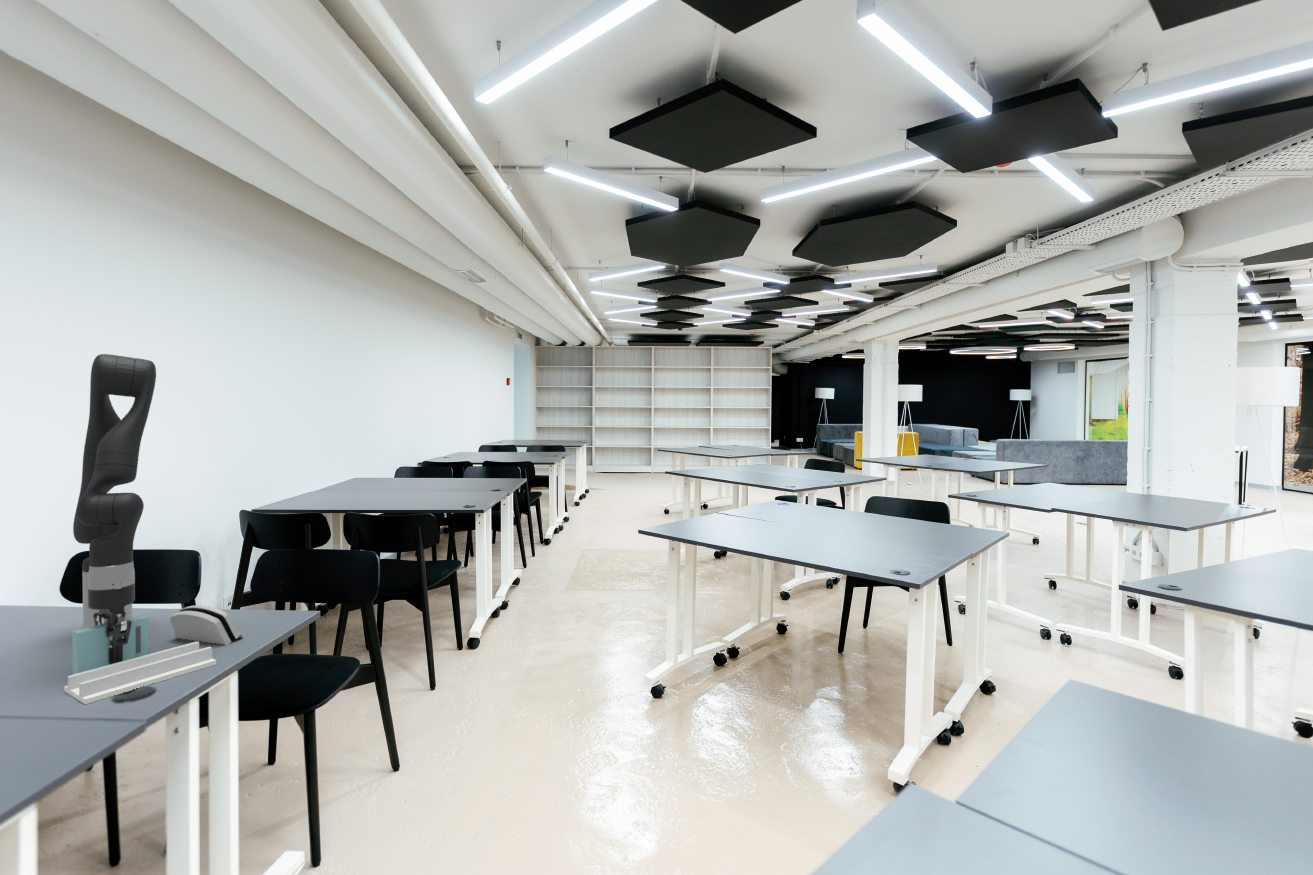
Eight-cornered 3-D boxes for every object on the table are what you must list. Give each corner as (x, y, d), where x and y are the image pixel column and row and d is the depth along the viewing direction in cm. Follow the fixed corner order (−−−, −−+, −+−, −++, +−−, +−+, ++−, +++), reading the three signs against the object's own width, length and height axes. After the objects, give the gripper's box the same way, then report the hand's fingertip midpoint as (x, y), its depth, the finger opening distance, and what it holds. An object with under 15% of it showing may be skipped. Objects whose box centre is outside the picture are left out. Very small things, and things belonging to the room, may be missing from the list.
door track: (64, 691, 118) (64, 674, 118) (193, 654, 137) (193, 639, 137) (85, 704, 112) (85, 686, 112) (216, 664, 132) (216, 649, 132)
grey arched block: (246, 637, 148) (233, 605, 145) (229, 650, 144) (215, 617, 140) (196, 631, 152) (182, 599, 149) (178, 643, 148) (163, 610, 145)
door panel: (72, 677, 123) (72, 630, 123) (143, 657, 134) (143, 614, 134) (78, 680, 122) (77, 633, 122) (149, 660, 132) (149, 617, 132)
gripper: (76, 582, 128) (77, 660, 128) (101, 592, 121) (102, 674, 121) (120, 575, 134) (121, 649, 135) (147, 584, 127) (147, 662, 128)
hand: (112, 661), depth 128 cm, fingers closed on door panel, 3 cm apart
